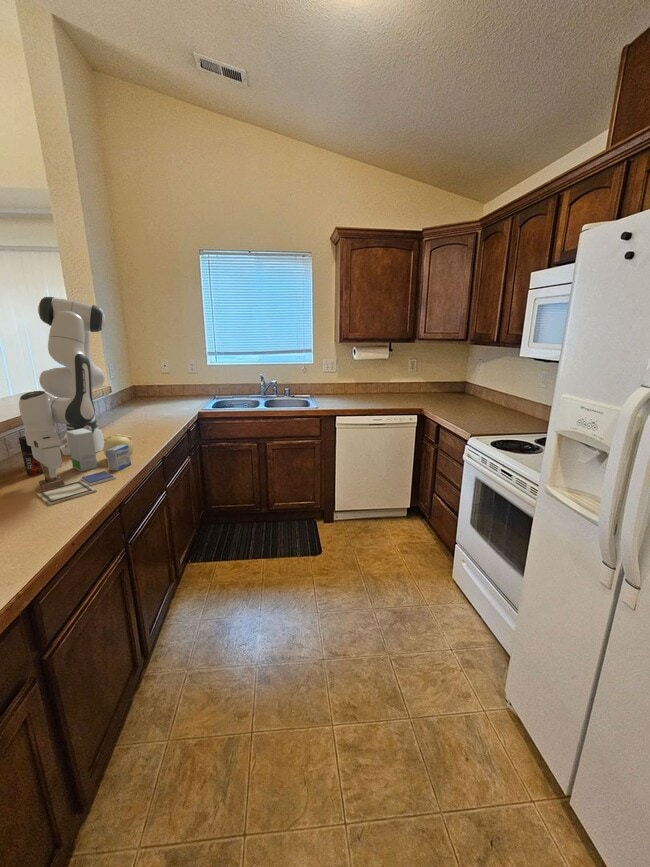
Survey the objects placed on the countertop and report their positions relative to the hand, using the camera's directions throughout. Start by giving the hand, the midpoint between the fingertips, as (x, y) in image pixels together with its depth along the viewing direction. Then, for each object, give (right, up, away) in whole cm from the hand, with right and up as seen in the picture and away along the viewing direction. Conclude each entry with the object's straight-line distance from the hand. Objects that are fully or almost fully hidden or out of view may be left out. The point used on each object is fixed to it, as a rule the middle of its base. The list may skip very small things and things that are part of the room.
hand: (49, 474), depth 138 cm
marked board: (+10, -6, -6) cm, 13 cm away
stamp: (0, -4, +1) cm, 4 cm away
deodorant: (-15, -1, +13) cm, 19 cm away
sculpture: (+9, +4, +30) cm, 32 cm away
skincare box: (+1, +1, +19) cm, 19 cm away
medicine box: (+15, +1, +19) cm, 24 cm away
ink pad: (+14, -2, +6) cm, 15 cm away
